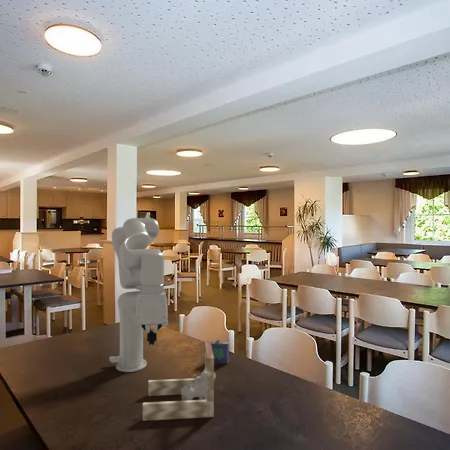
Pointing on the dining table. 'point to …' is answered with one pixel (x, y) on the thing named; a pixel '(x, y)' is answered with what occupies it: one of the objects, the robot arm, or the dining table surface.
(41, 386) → the dining table surface
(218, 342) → the flask
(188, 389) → the dog figurine
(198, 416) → the channel
